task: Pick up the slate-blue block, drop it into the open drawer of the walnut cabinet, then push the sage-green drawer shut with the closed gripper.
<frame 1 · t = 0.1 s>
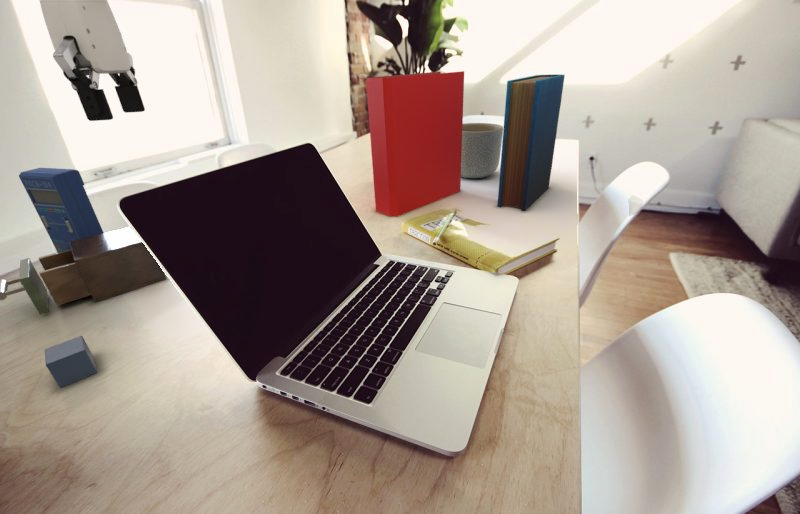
hand: (119, 115, 59), 30 cm above the table, tool pointing down, fingers open, 9 cm apart
book 2: (419, 201, 107), on the table
planter: (473, 175, 128), on the table
cabinet: (127, 279, 73), on the table
drawer: (54, 279, 66), point 4 cm above the table, slide at 6.0 cm
electronic device: (92, 267, 79), on the table
block: (77, 372, 51), on the table
book: (523, 195, 108), on the table
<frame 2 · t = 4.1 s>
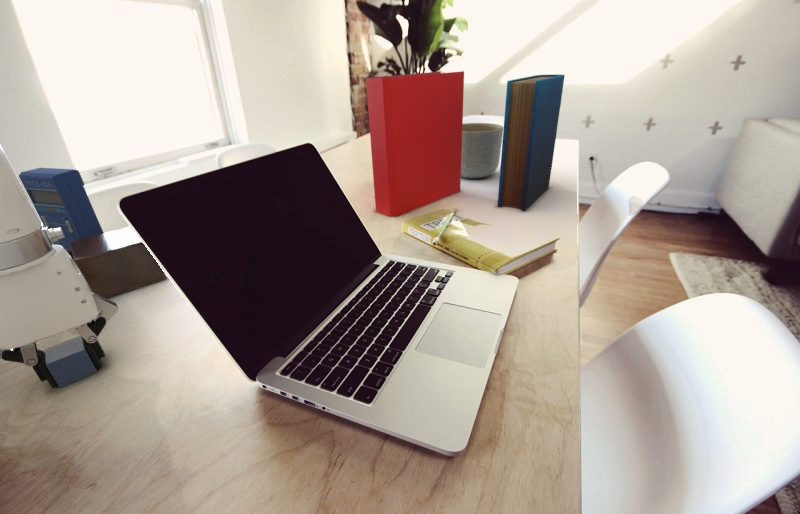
hand: (76, 370, 51), 0 cm above the table, tool pointing down, fingers closed on block, 4 cm apart
block: (77, 372, 51), on the table, touching gripper
everything else where it was.
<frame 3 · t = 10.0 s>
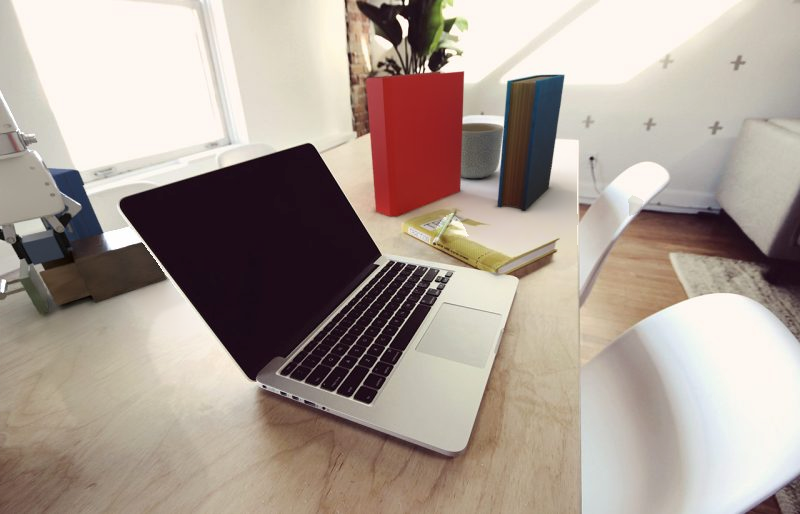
hand: (48, 255, 65), 8 cm above the table, tool pointing down, fingers closed on block, 4 cm apart
block: (49, 257, 65), point 8 cm above the table, touching gripper
everything else where it was.
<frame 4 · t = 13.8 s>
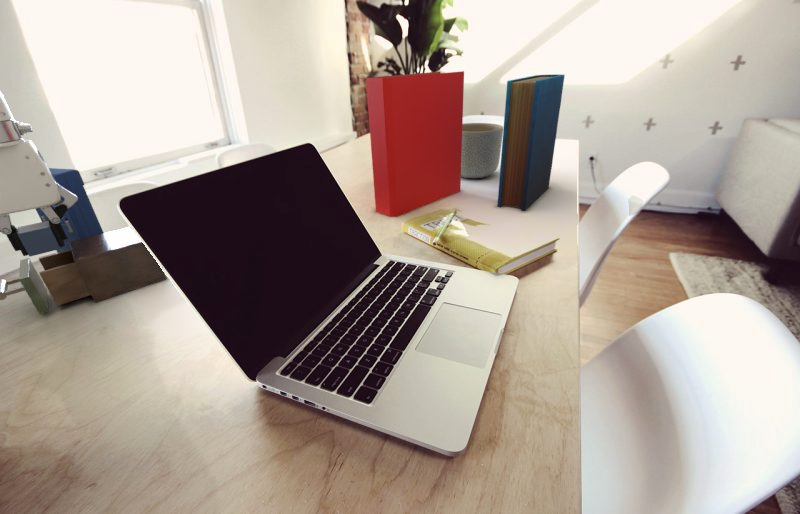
hand: (44, 247, 64), 10 cm above the table, tool pointing down, fingers closed on block, 4 cm apart
block: (45, 249, 64), point 10 cm above the table, touching gripper
everything else where it was.
when the fingers open (10 cm above the table, at t = 17.0 s): block drops 8 cm, resting on drawer.
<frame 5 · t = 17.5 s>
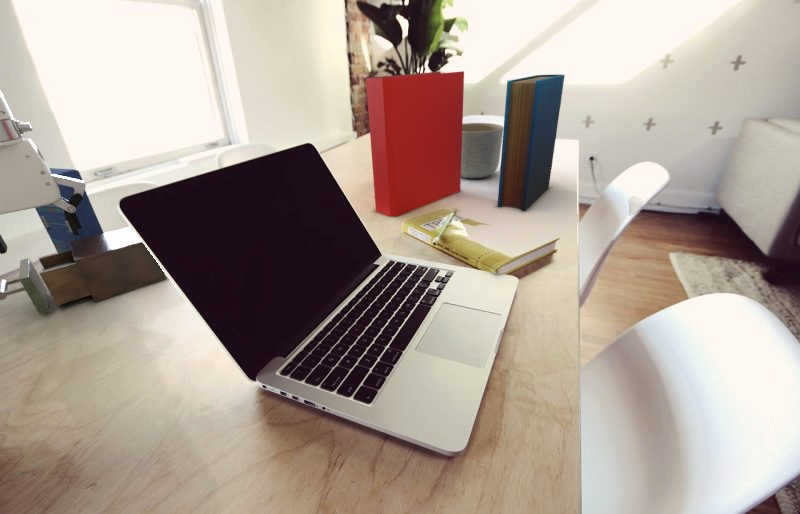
hand: (42, 241, 63), 11 cm above the table, tool pointing down, fingers open, 9 cm apart
drawer: (54, 279, 66), point 4 cm above the table, slide at 6.0 cm, touching block
block: (67, 288, 68), point 2 cm above the table, touching drawer
everything else where it was.
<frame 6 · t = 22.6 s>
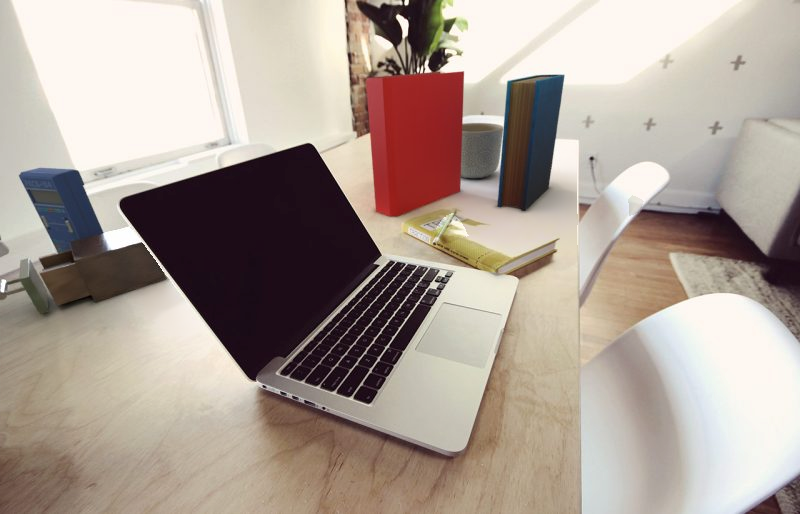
drawer: (54, 279, 66), point 4 cm above the table, slide at 6.0 cm, touching block, gripper
everything else where it was.
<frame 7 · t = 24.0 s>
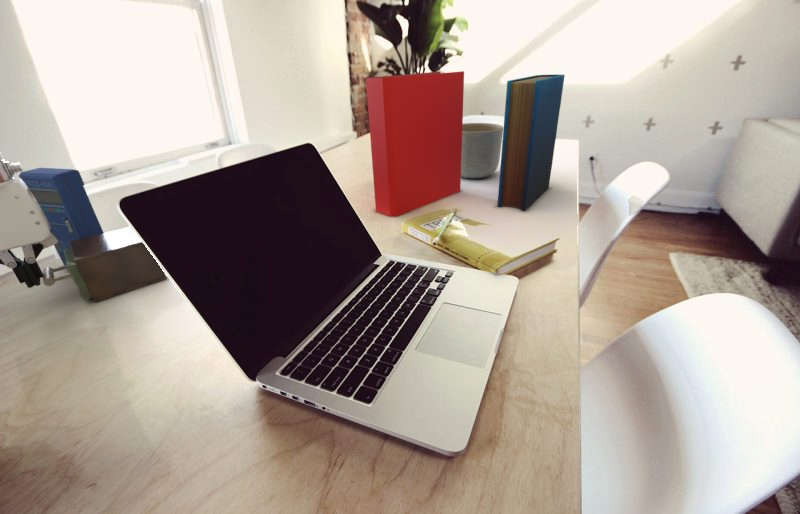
hand: (34, 283, 64), 5 cm above the table, tool pointing down, fingers closed
drawer: (95, 267, 69), point 4 cm above the table, slide at 0.0 cm, touching block, cabinet, gripper
block: (107, 276, 71), point 2 cm above the table, touching drawer
everything else where it was.
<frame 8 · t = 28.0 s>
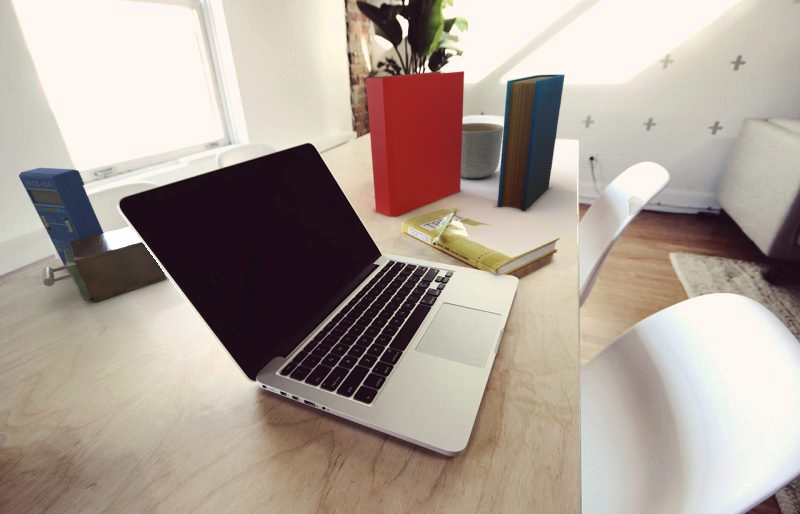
drawer: (95, 267, 69), point 4 cm above the table, slide at 0.0 cm, touching block, cabinet
everything else where it was.
at the end: block inside the target area in the cabinet (1.1 cm from its centre), point 1.9 cm above the cabinet's base; drawer slide at 0.0 cm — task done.
